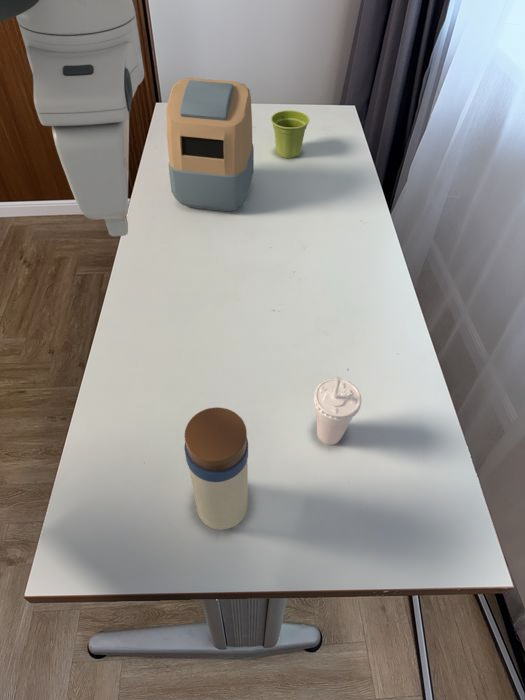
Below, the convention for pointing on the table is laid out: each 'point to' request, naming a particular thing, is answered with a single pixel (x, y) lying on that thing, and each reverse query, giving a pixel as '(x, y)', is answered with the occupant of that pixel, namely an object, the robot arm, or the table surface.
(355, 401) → the smoothie
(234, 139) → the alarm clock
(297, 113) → the plant pot
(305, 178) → the table surface
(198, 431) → the brown lid
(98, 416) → the table surface
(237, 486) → the bottle
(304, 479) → the table surface
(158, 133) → the table surface
